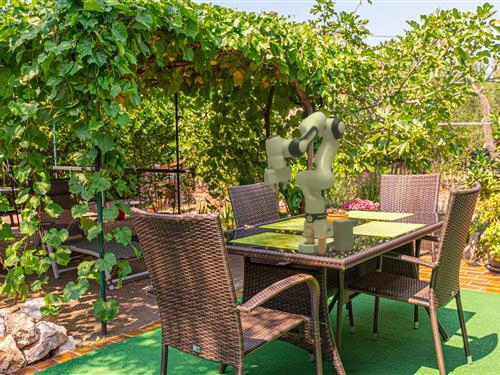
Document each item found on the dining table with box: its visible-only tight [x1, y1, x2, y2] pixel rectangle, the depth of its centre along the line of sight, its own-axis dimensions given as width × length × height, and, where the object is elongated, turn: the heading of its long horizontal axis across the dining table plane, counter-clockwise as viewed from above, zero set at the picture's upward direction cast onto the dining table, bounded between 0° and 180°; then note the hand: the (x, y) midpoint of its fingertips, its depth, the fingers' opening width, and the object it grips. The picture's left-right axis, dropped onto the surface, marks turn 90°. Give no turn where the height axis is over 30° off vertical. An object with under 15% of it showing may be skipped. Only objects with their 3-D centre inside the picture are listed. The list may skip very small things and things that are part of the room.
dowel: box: [306, 223, 316, 244], centre depth 258 cm, size 4×4×14 cm
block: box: [298, 240, 318, 254], centre depth 259 cm, size 10×14×4 cm
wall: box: [317, 232, 327, 255], centre depth 257 cm, size 3×18×8 cm, turn 169°
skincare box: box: [332, 218, 354, 253], centre depth 257 cm, size 8×7×16 cm
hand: (279, 190), depth 275 cm, fingers open, 8 cm apart
